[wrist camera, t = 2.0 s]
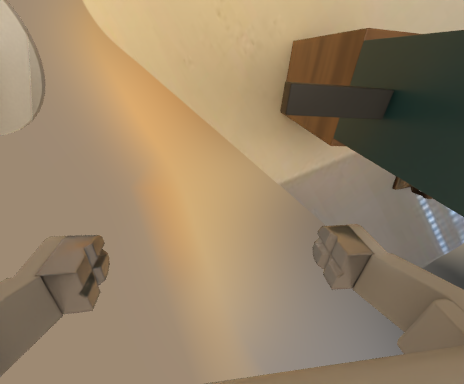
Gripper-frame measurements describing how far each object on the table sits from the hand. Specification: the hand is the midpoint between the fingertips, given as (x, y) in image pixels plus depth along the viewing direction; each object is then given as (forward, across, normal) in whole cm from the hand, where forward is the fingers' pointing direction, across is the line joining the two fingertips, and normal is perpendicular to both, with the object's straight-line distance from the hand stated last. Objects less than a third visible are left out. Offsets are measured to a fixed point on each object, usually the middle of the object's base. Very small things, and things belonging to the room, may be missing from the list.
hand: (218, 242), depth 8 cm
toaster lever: (+13, +11, +4) cm, 18 cm away
